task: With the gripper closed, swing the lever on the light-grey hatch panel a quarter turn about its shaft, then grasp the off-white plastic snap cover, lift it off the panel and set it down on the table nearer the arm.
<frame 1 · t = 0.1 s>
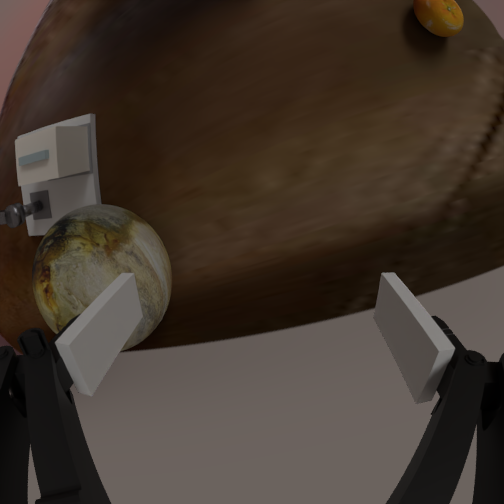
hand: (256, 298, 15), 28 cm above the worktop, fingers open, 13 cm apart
cover: (66, 153, 38), point 2 cm above the worktop, touching hatch panel
hatch panel: (57, 178, 41), on the worktop
lever: (13, 212, 38), point 6 cm above the worktop, hinge at 0.0°
fruit: (428, 18, 29), on the worktop
decorative sphere: (131, 252, 45), on the worktop
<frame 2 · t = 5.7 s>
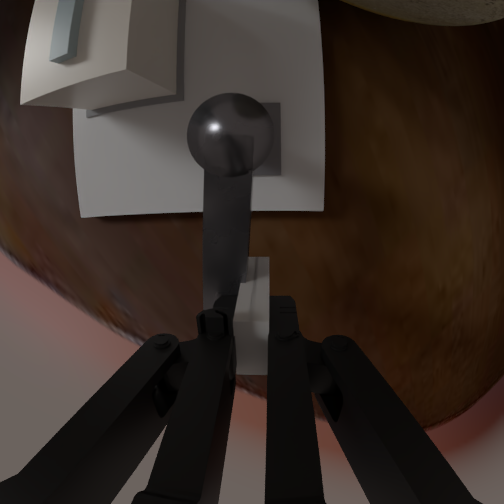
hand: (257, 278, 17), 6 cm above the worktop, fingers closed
cover: (132, 46, 16), point 2 cm above the worktop, touching hatch panel
hatch panel: (189, 90, 19), on the worktop
lever: (234, 202, 16), point 6 cm above the worktop, hinge at 4.4°, touching gripper
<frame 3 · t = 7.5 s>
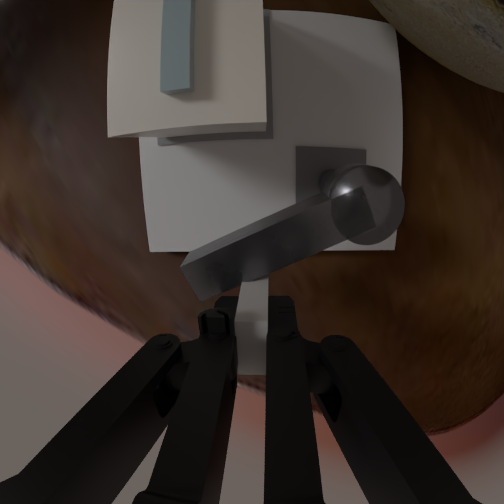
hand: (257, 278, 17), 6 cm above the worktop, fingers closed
cover: (211, 71, 17), point 2 cm above the worktop, touching hatch panel
hatch panel: (272, 125, 20), on the worktop
lever: (289, 217, 16), point 6 cm above the worktop, hinge at 65.7°, touching gripper
decorative sphere: (420, 3, 15), on the worktop
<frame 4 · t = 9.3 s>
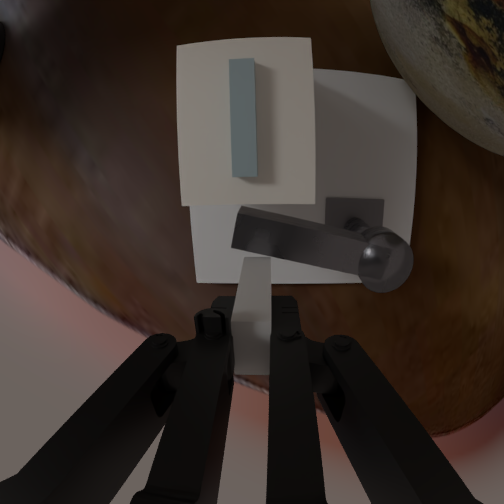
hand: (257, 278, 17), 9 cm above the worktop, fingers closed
cover: (254, 127, 21), point 2 cm above the worktop, touching hatch panel
hatch panel: (305, 176, 24), on the worktop
lever: (320, 232, 19), point 6 cm above the worktop, hinge at 103.0°, touching gripper
decorative sphere: (438, 53, 18), on the worktop
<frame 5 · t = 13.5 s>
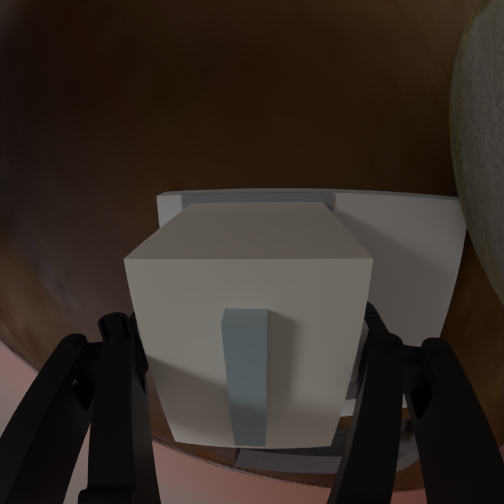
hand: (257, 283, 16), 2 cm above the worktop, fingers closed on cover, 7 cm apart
cover: (257, 281, 17), point 2 cm above the worktop, touching gripper, hatch panel
hatch panel: (317, 322, 20), on the worktop
lever: (331, 414, 15), point 6 cm above the worktop, hinge at 103.6°
decorative sphere: (497, 145, 14), on the worktop
when the fingers open (2 cm above the worktop, at t = 19.6 s): cover drops 1 cm, on the worktop.
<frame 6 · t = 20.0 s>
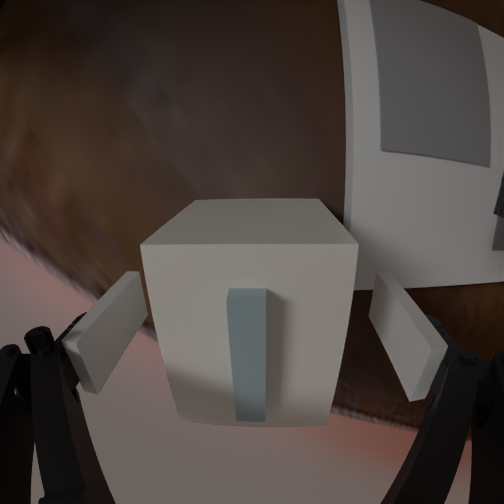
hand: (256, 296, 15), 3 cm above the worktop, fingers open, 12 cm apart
cover: (257, 272, 18), on the worktop
hatch panel: (475, 148, 14), on the worktop
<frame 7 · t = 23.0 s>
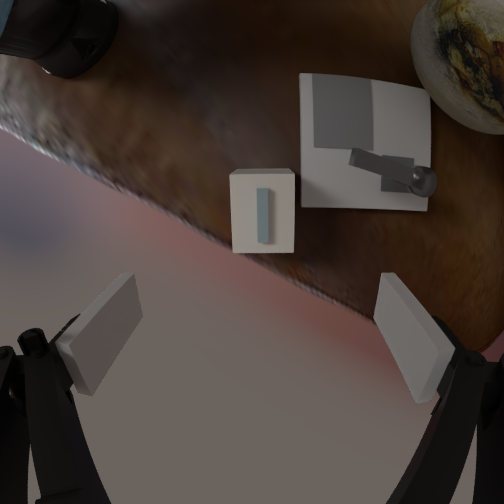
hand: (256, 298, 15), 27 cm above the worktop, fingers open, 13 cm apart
cover: (263, 201, 40), on the worktop
hatch panel: (368, 143, 36), on the worktop
lever: (386, 169, 32), point 6 cm above the worktop, hinge at 103.6°
decorative sphere: (442, 72, 31), on the worktop
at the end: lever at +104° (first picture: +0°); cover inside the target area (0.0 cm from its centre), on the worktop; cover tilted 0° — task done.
